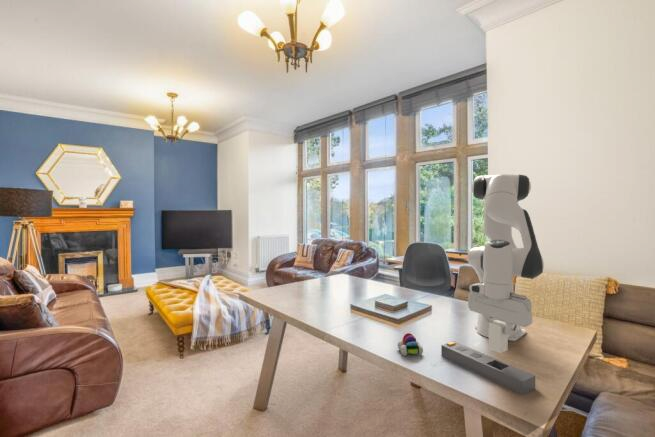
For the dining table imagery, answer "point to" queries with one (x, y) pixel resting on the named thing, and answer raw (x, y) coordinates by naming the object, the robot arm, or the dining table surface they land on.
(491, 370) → the power strip
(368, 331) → the dining table surface
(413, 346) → the multicoloured domed toy
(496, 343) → the charger plug
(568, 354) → the dining table surface
